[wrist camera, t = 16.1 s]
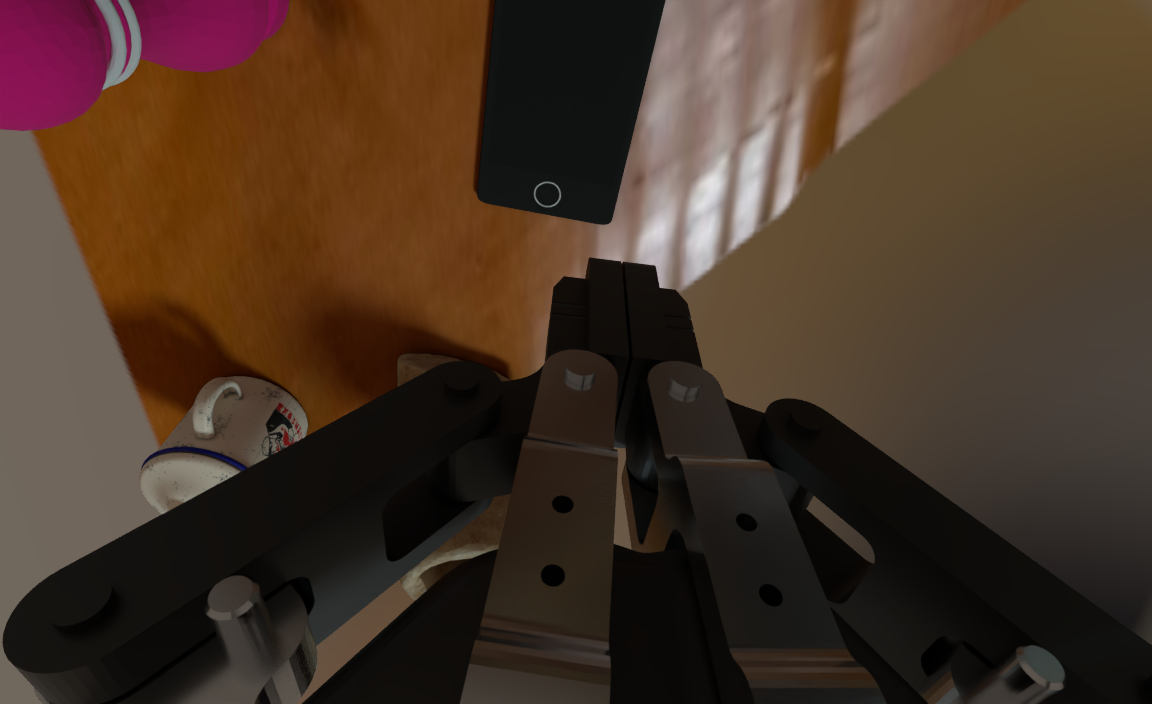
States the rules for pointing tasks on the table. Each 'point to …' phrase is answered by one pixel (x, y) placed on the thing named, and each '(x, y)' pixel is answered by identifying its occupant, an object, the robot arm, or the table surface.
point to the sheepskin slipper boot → (473, 536)
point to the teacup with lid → (221, 439)
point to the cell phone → (564, 103)
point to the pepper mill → (114, 48)
